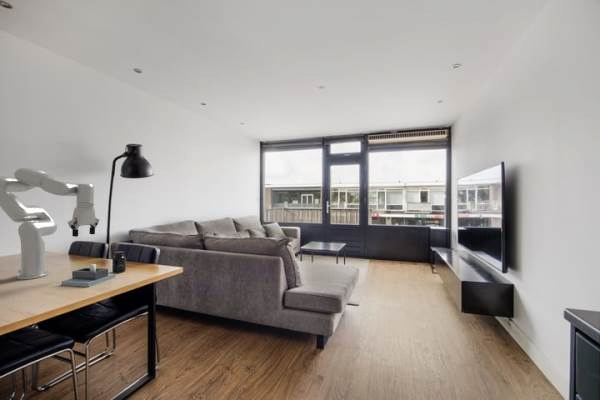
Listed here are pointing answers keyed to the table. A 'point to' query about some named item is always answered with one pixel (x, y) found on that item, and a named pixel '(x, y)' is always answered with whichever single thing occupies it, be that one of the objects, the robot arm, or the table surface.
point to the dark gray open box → (89, 274)
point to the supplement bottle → (119, 262)
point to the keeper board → (87, 282)
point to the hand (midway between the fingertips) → (83, 235)
